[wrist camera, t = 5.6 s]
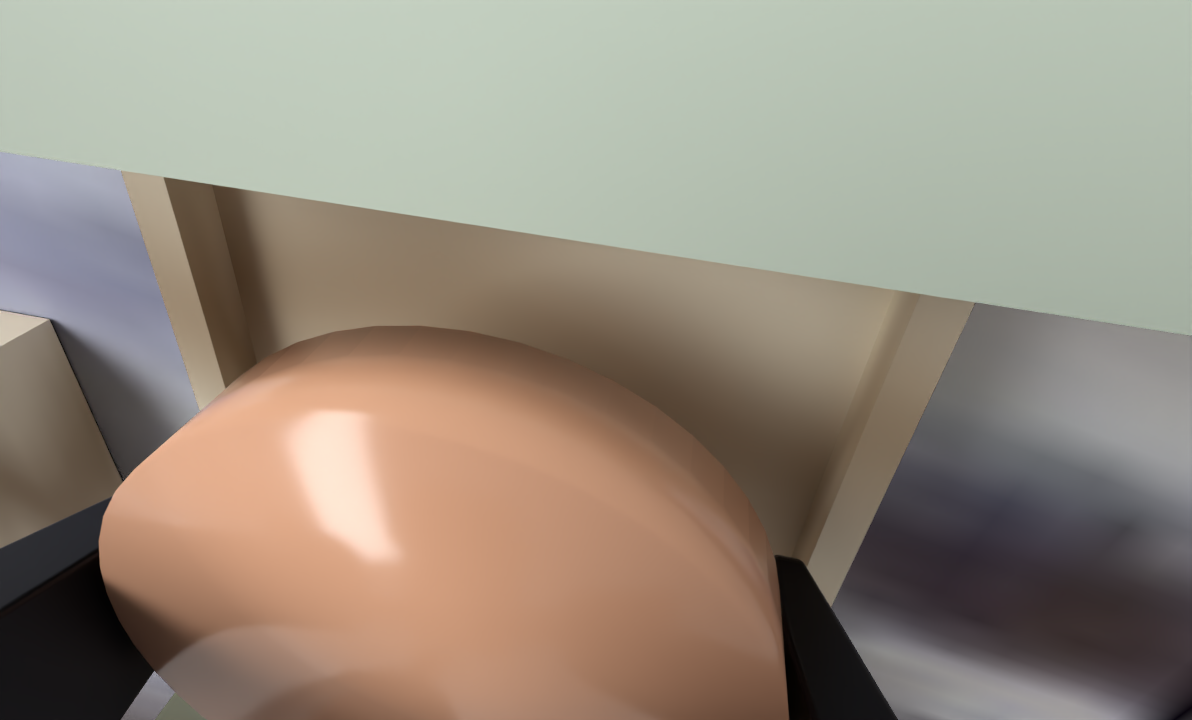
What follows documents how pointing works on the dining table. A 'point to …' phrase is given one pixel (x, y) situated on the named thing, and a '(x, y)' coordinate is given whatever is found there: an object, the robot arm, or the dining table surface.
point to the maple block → (45, 433)
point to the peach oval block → (443, 545)
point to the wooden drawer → (579, 336)
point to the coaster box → (671, 127)
